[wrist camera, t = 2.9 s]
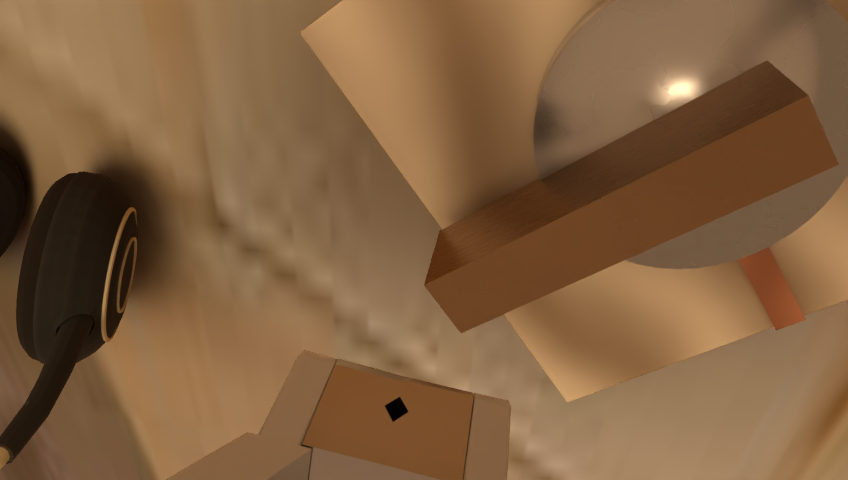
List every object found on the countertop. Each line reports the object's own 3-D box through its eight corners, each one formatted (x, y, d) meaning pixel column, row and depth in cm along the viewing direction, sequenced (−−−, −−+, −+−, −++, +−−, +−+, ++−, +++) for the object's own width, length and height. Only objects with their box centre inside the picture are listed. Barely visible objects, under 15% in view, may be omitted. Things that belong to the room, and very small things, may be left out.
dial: (782, -115, 20) (852, -111, 15) (897, 170, 23) (980, 241, 19) (384, 135, 26) (351, 190, 21) (524, 329, 30) (520, 411, 25)
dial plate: (881, -406, 18) (912, -431, 16) (1060, 193, 25) (1094, 214, 23) (311, 24, 26) (297, 34, 24) (566, 381, 33) (567, 406, 31)
